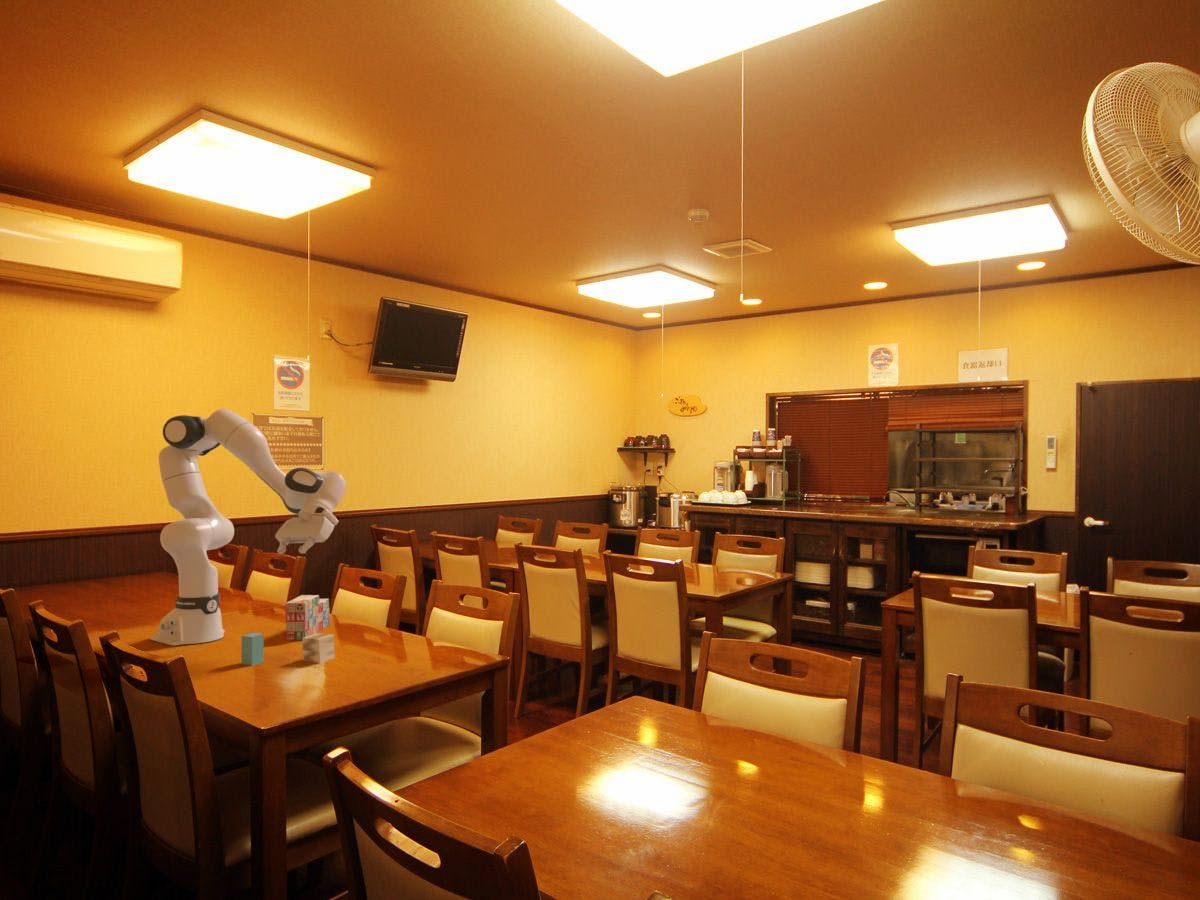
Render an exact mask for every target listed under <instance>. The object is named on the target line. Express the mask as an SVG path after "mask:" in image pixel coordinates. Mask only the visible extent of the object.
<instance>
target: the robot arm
mask: <svg viewBox="0 0 1200 900" xmlns="http://www.w3.org/2000/svg"><path fill="white" fill-rule="evenodd" d="M162 436H163V438H164V441H165V442H166V443H167V444H168V445H167V446H165V447H164V448H162V449H161V450H160V452H159V453H158V464H159V465H158V466H159V472H160V473H159V474H160V476H161V480H162V485H163V487H164V490H165V494H166V497H167V502H168V504H169V505H170V507H172V508H173V509H174V510H176V511H178V512H179V513H180V515H182V517H183V518H182V519H178V520H176V521H174V522H171V523H168V524H166V525H165V526H164V527H163V528H162V530H161V532H160V535H159V536H160V537H159V540H160V545H161V546H162V548H163V550H165V551H166V553H168V554H169V555H170V556H171V557H172V558H173V562H174V563H175V565H176V568H177V573H178V586H179V587H178V593H179V594H178V596H177V597H174V598H172V600H173V601H172V602H175V605H174V608H173V609H172V610H171V611H170V612H168V613H167V614H165V616H163V617H162V619H160V621H159V625H158V632H157V633H155V634H153V635H151V636H150V637H149V640H150V641H153V642H158V643H161V644H164V645H165V644H166V645H168V646H180V645H181V646H182V645H191V644H192V645H193V644H203V643H209V642H213V641H218V640H220V639H222V638H223V637H224V636H225V635H224V634H225V631H226V630H225V629H224V628H223V621H222V620H223V619H222V612H221V611H222V610H221V608H220V607H219V605H220V602H221V601H220V600H221V597H220V593H219V570H218V568H217V567H216V566H215V565H213V564H212V563H211V561H210V560H209V557H208V554H207V551H210V550H212V551H213V550H216V549H219V548H222V547H224V546H225V545H228V544H229V543H230V542H232V540H233V538H234V535H235V528H234V524H233V522H232V520H230V519H229V518H227V517H225V516H224V515H223V514H221V512H220V511H219V510H218V509H217V508H216V506H215V505H214V503H213V502H212V500H211V499H210V497H209V495H208V493H207V490H206V486H205V484H204V481H203V476H202V474H201V470H200V468H199V464H198V457H199V456H200V457H203V456H206V455H208V454H209V453H210V452H211V451H213V450H215V449H217V448H218V447H220V446H222V447H224V449H226V450H227V451H229V453H231V454H232V455H234V457H236V458H237V459H239V461H241V462H242V463H243V464H244V465H245V466H247V467H248V468H249V469H250V470H251V471H252V472H253V473H254V474H256V475H257V477H259V479H261V481H263V482H264V483H265V484H266V485H267V486H268V487H269V488H270V489H271V490H272V491H274V492H275V493H276V494H277V495H278V496H279V498H280V499H281V501H282V503H283V504H284V507H285V508H286V510H287V511H289V512H290V513H292V514H294V515H295V514H296V515H297V516H293V517H292V518H288V519H287V520H286V521H285V522H284V523H283V524H282V526H280V527H279V529H278V530H277V532H276V533H275V536H274V537H275V539H276V540H277V541H278V542H279V547H278V548H277V550H276V552H277V553H278V554H281V555H282V554H285V552H287V548H286V547H287V546H288V545H289V544H303V545H300V546H299V548H298V552H299V554H306V553H307V552H308V550H309V549H310V548H312V546H314V545H315V544H316V543H324V542H325V541H326V540H328V539H329V537H330V536H331V534H332V533H333V531H334V528H335V527H336V526H337V525H338V523H339V522H340V521H339V519H337V517H336V515H334V514H333V512H334V510H335V508H337V506H338V505H339V504H340V502H341V501H342V499H343V498H344V496H345V492H346V490H347V481H346V480H345V478H344V477H343V476H342V475H341V474H340V473H339V472H336V471H334V470H328V471H316V470H311V469H309V468H306V467H297V468H295V467H294V468H293V469H291V470H289V471H288V472H287V473H285V472H284V471H283V470H282V469H281V468H280V467H278V466H277V464H276V462H275V461H274V459H273V456H272V454H271V451H270V446H269V443H268V440H267V438H266V436H265V434H263V433H262V431H261V430H260V429H259V428H257V427H256V426H255V425H254V424H253V423H251V422H250V421H249V420H247V419H246V418H245V417H243V416H241V415H240V414H238V413H236V412H234V411H232V410H231V409H227V408H220V409H217V410H215V411H214V412H212V413H211V414H210V415H209V417H207V418H206V417H203V416H197V415H193V416H192V415H187V414H186V415H184V414H183V415H177V416H172V417H170V418H169V419H167V421H166V422H165V424H163V427H162Z"/></svg>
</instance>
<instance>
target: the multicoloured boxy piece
mask: <svg viewBox="0 0 1200 900" xmlns="http://www.w3.org/2000/svg"><path fill="white" fill-rule="evenodd" d="M329 625H330V598H320V595H319V594H316V595H315V594H314V595H313V594H306V595H305V594H301V595H299V596H297V597H295V598H293V599H291V600H289V601H287V602H285V627H286V628H285V641H303V638H304V637H307V636H310V635H313V634H316V633H319V632H320V631H322V630H323V629H325V628H327V627H329ZM321 629H322V630H321Z"/></svg>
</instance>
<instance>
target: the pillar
mask: <svg viewBox="0 0 1200 900" xmlns="http://www.w3.org/2000/svg"><path fill="white" fill-rule="evenodd" d="M261 663H264V633H259V632H251V633H248V634H244V635H241V665H245V666H252V667H253V666H256V665H257V664H258V665H259V664H261Z"/></svg>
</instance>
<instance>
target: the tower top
mask: <svg viewBox="0 0 1200 900" xmlns="http://www.w3.org/2000/svg"><path fill="white" fill-rule="evenodd" d="M332 647H335V635H334V634H329V633H319V632H317V633H316V634H313V635H310V636H307V637H304V638H303V640H302V651H303V650H306V651H315V652H321V651H324V650H326V649H329V648H332Z"/></svg>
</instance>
